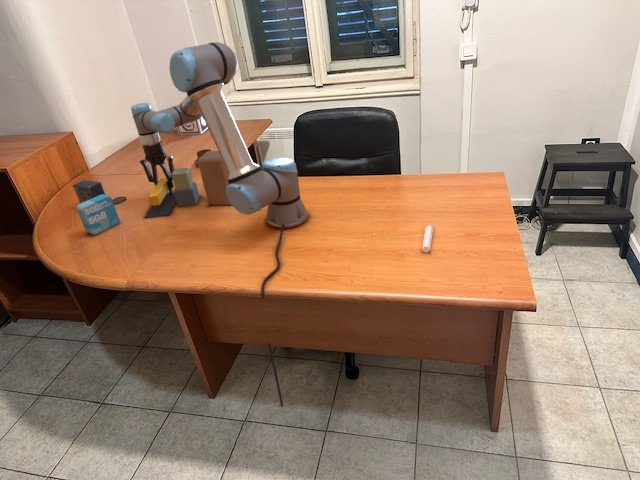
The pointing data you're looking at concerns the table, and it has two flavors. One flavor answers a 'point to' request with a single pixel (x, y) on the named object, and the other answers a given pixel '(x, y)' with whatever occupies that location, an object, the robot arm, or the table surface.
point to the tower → (185, 187)
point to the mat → (162, 207)
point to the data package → (98, 214)
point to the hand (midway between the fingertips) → (167, 195)
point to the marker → (427, 238)
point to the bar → (159, 192)
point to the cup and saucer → (199, 154)
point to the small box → (88, 190)
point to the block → (214, 177)
